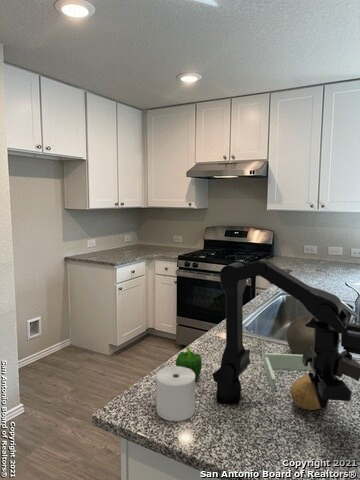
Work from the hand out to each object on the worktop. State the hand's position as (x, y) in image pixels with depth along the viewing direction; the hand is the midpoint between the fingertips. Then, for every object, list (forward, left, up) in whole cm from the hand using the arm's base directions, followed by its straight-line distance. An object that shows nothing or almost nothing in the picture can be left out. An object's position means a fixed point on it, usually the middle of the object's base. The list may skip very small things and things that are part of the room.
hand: (322, 407), depth 85 cm
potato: (0, +11, -6) cm, 13 cm away
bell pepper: (-35, +22, -6) cm, 42 cm away
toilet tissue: (-38, +5, -6) cm, 39 cm away
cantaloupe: (+7, +43, -6) cm, 44 cm away
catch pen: (0, +25, -6) cm, 26 cm away
